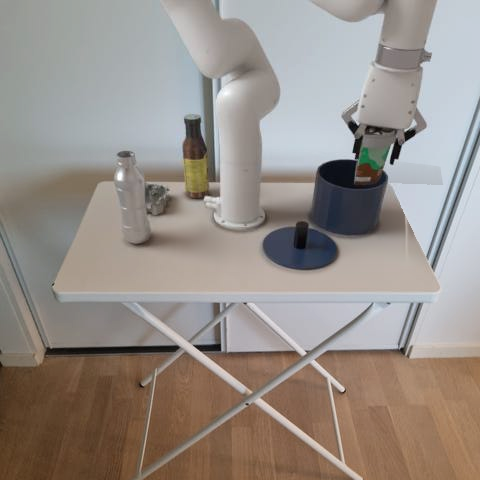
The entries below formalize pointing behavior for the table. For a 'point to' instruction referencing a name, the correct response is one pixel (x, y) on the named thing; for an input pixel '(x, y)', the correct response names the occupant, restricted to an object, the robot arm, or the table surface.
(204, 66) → the robot arm
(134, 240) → the plastic bottle
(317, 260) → the pot lid
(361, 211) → the pot
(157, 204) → the grey metal casting
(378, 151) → the food container
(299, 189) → the table surface
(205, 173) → the sauce bottle
